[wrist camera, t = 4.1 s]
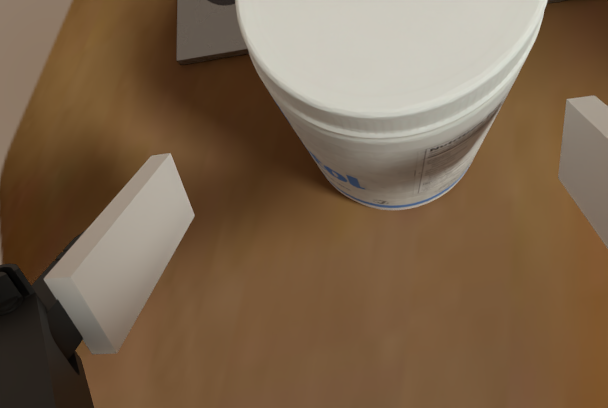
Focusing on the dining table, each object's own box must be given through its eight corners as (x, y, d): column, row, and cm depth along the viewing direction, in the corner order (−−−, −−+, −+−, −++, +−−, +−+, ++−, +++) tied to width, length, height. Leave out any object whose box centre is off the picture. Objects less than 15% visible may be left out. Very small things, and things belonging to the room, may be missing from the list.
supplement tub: (285, 148, 29) (164, 3, 15) (384, 34, 29) (359, -220, 15) (406, 249, 26) (401, 190, 12) (516, 122, 26) (643, -88, 12)
